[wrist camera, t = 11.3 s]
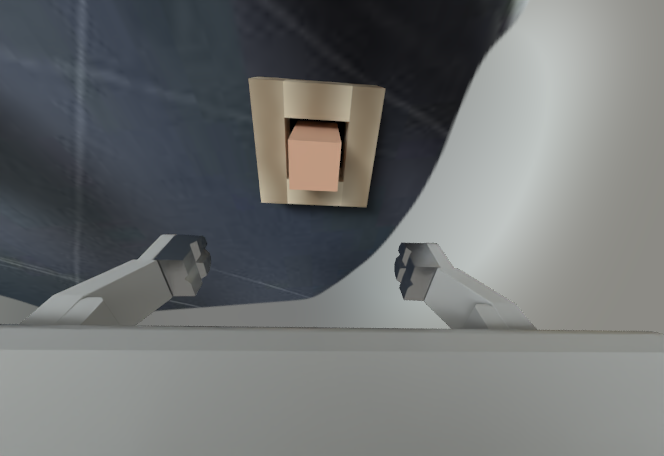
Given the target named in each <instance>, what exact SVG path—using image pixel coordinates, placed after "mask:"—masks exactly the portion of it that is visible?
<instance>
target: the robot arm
mask: <svg viewBox="0 0 664 456" xmlns="http://www.w3.org/2000/svg"><path fill="white" fill-rule="evenodd" d="M206 246H207V242H206V239H205V237H203V236H196V235H176V234H163V235H161V236H160V237H159V238H158V239H157V240H156V241H155V242H154V243H153V244H152V245H151V246H150V247H149V248H148V249H147V250H146V251H145V252H144V253H143V254H142V255H141V256H140V257H139V259H138V260H131V261H129V262H126V263H124V264H122V265H120V266H118V267H115V268H113V269H111V270H109V271H106V272H104V273H102V274H100V275H97V276H95V277H93V278H91V279H89V280H86V281H84V282H82V283H80V284H77V285H75V286H73V287H71V288H68V289H66V290H64V291H62V292H60V293H57V294H55V295H53V296H52V297H51V298H50V299H48V300H47V301H46V302H45V303H44V304H42V305H41V306H40V307H39V308H38V309H37V310H35V311H34V312H33V313H32V314H31V315H29V316H28V317H27V318H26V319H25V320H24V321H22V322H21V323H20V324H0V456H664V334H662V333H658V332H651V331H593V330H591V331H590V330H537V329H536V328H535V327H534V325H533V324H532V323H531V322H530V320H529V319H528V318H527V317H526V316H525V314H524V313H523V312H522V311H521V309H520V308H519V307H518V306H517V304H515V303H514V302H512V301H510V300H509V299H507V298H506V297H504V296H502V295H500V294H499V293H497V292H496V291H494V290H492V289H491V288H489V287H487V286H486V285H484V284H483V283H481V282H479V281H478V280H476V279H474V278H473V277H471V276H469V275H468V274H466V273H465V272H463V271H461V270H460V269H458V268H454V267H453V266H452V264H451V263H450V261H449V260H448V258H447V257H446V256H445V254H444V252H443V251H442V249H441V248H440V246H439V245H438V244H437V243H401V245H400V246H399V250H398V251H399V253H400V255H399V256H398V257H397V258H396V261H395V276H396V279H397V280H398V281H399V282H400V283H401V284H400V290H401V293H402V296H403V299H404V300H418V301H424V302H425V303H426V304H427V305H428V306H429V307H430V308H431V309H432V310H433V311H434V312H435V313H436V314H437V315H438V316H439V317H440V318H441V319H442V320H443V321H444V322H445V323H446V324H447V325H448V326H449V327H450V328H451V329H398V328H316V327H219V326H216V327H215V326H135V325H137V324H138V323H139V322H141V321H142V320H143V319H145V318H146V317H147V316H149V315H150V314H151V313H152V312H154V311H155V310H156V309H158V308H159V307H160V306H162V305H163V304H164V303H166V302H167V301H168V300H170V299H171V298H172V296H195V295H196V294H197V292H198V290H199V288H200V287H201V285H202V280H201V279H202V278H203V277H205V276H206V275H207V274H208V272H209V270H210V266H211V256H210V253H209V252H208V251H207V250H206V249H205V247H206Z"/></svg>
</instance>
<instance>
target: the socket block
mask: <svg viewBox="0 0 664 456" xmlns="http://www.w3.org/2000/svg"><path fill="white" fill-rule="evenodd" d="M248 79H249V88H250V98H251V108H252V117H253V127H254V137H255V146H256V156H257V166H258V175H259V185H260V195H261V203H283V204H306V205H328V206H350V207H367V200H368V194H369V188H370V182H371V176H372V169H373V163H374V157H375V151H376V144H377V138H378V132H379V126H380V120H381V113H382V107H383V101H384V95H385V88H383V87H380V86H377V85H364V84H350V83H337V82H324V81H310V80H297V79H283V78H270V77H254V78H248ZM290 118H299V119H314V120H329V121H345V129H344V141H343V152H342V163H341V168H339V178H338V190H337V192H332V191H312V190H292V189H289V158H288V139H289V137H290Z"/></svg>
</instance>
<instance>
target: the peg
mask: <svg viewBox="0 0 664 456" xmlns="http://www.w3.org/2000/svg"><path fill="white" fill-rule="evenodd" d="M340 155H341V139H340V134H339V130H338V125H337V123H332V122H317V121H302V120H298V121H297V123H296V125H295V127H294V129H293V131H292V133H291V135H290V137H289V139H288V158H289V189H292V190H312V191H332V192H337V190H338V178H339V166H340Z"/></svg>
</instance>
